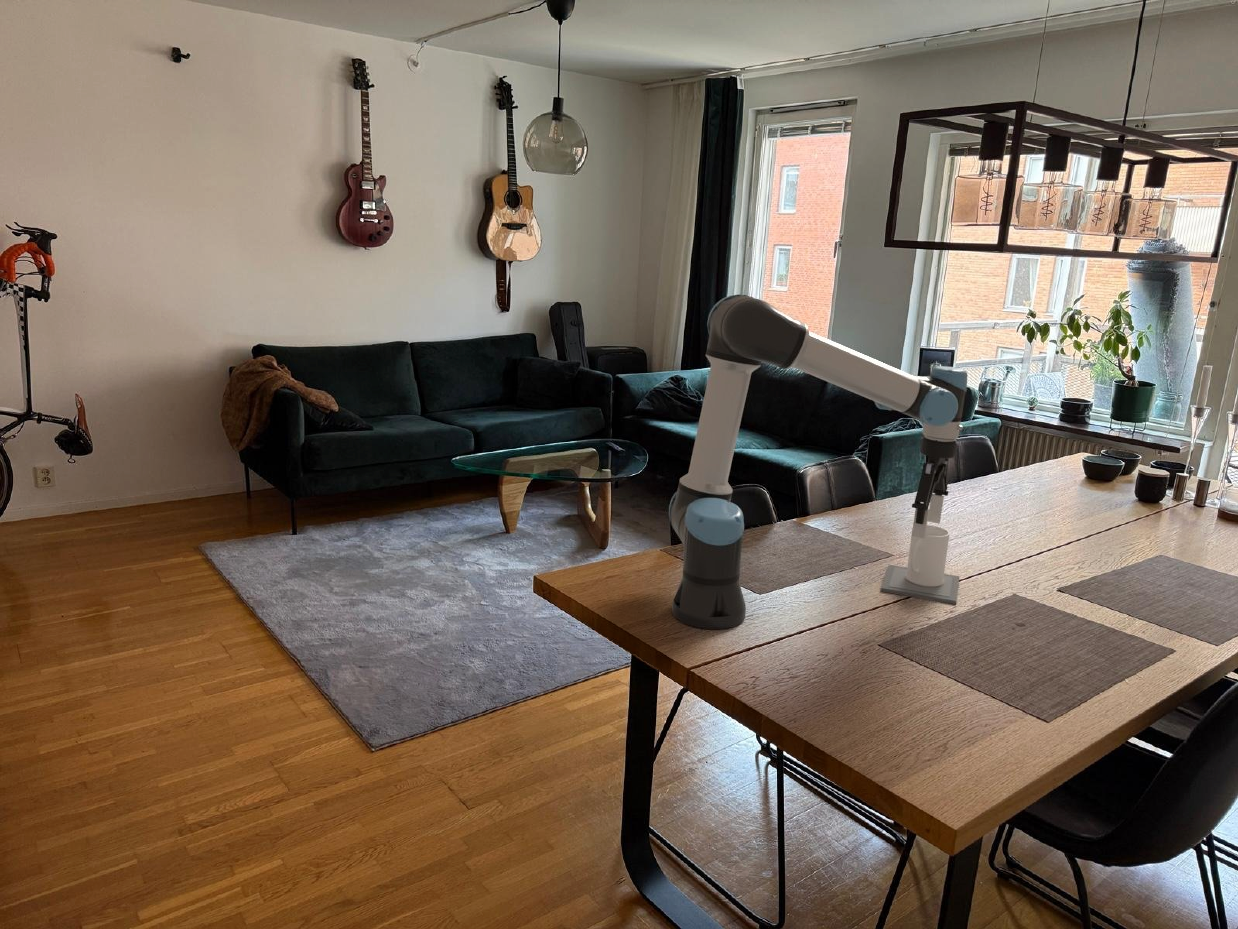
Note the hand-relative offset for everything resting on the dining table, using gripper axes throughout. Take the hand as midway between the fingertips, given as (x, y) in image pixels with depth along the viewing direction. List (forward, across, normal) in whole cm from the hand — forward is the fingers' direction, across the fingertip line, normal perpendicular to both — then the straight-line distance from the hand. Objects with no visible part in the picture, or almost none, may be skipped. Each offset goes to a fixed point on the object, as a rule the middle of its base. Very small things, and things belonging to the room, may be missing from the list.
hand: (926, 529), depth 200 cm
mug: (+13, 0, 0) cm, 13 cm away
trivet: (+14, 0, -1) cm, 14 cm away
